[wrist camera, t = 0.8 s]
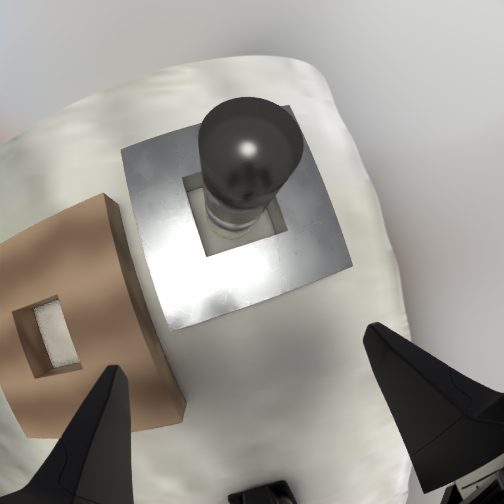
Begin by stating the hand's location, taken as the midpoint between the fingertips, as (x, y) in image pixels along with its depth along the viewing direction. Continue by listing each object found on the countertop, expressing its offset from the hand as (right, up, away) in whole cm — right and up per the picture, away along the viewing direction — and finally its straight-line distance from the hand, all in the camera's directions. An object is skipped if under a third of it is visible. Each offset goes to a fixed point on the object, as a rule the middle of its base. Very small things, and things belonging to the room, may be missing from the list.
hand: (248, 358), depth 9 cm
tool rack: (-17, -4, +11) cm, 20 cm away
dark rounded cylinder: (-2, +7, +14) cm, 15 cm away
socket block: (-2, +7, +14) cm, 15 cm away
